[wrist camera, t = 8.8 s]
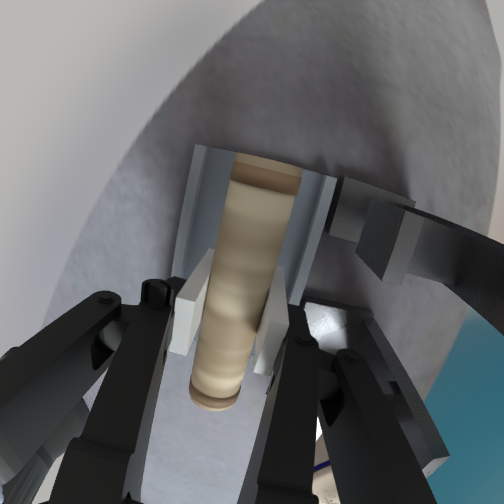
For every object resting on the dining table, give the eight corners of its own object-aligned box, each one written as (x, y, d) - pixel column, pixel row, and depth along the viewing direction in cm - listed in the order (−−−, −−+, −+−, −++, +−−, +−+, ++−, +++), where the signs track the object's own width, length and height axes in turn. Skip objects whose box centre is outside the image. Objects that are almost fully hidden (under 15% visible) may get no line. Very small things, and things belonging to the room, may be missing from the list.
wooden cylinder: (232, 379, 18) (241, 413, 16) (187, 375, 18) (189, 411, 15) (290, 166, 14) (315, 171, 11) (231, 151, 13) (242, 152, 10)
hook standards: (283, 338, 22) (293, 502, 9) (334, 173, 18) (469, 200, 5) (356, 351, 22) (409, 492, 9) (413, 201, 18) (566, 263, 5)
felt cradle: (169, 328, 22) (163, 338, 21) (200, 145, 18) (195, 143, 17) (276, 354, 23) (276, 365, 21) (332, 177, 18) (337, 178, 17)
